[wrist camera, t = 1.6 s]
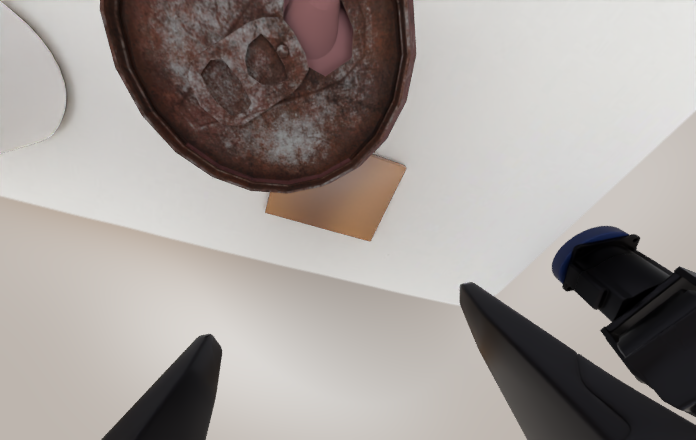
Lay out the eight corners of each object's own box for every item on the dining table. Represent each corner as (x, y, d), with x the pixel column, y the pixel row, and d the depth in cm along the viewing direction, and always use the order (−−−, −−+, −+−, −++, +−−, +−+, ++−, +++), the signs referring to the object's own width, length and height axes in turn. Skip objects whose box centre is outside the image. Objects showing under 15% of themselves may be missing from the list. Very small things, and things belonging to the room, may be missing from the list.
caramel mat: (405, 165, 21) (406, 167, 21) (369, 237, 24) (370, 241, 24) (288, 123, 19) (287, 125, 18) (266, 209, 22) (264, 212, 22)
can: (377, 24, 16) (515, -61, 4) (333, 124, 19) (343, 241, 7) (278, -38, 15) (66, -439, 3) (245, 82, 18) (68, 142, 6)
